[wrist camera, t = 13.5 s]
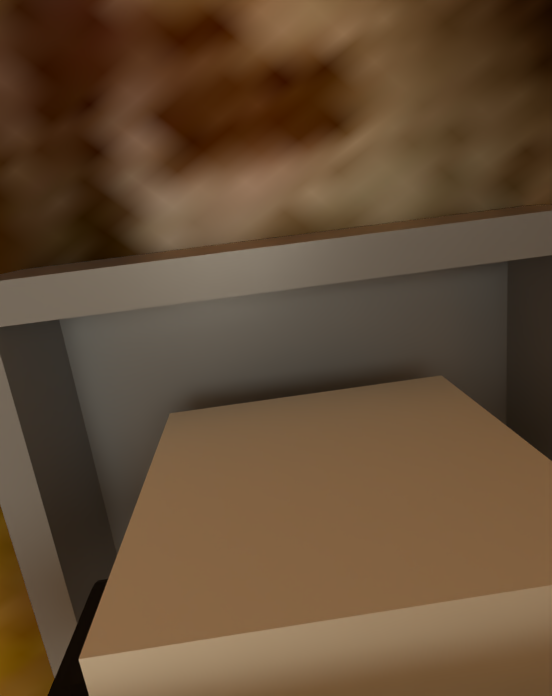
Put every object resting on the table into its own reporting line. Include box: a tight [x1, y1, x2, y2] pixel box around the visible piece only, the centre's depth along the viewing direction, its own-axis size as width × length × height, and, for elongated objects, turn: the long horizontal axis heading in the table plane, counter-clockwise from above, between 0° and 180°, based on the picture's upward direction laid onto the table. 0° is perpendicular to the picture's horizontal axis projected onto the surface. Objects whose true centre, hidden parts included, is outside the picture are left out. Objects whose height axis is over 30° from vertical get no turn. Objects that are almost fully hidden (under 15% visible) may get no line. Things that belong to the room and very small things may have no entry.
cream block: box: [78, 375, 552, 696], centre depth 8 cm, size 6×6×6 cm
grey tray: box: [0, 204, 552, 678], centre depth 12 cm, size 13×13×4 cm
